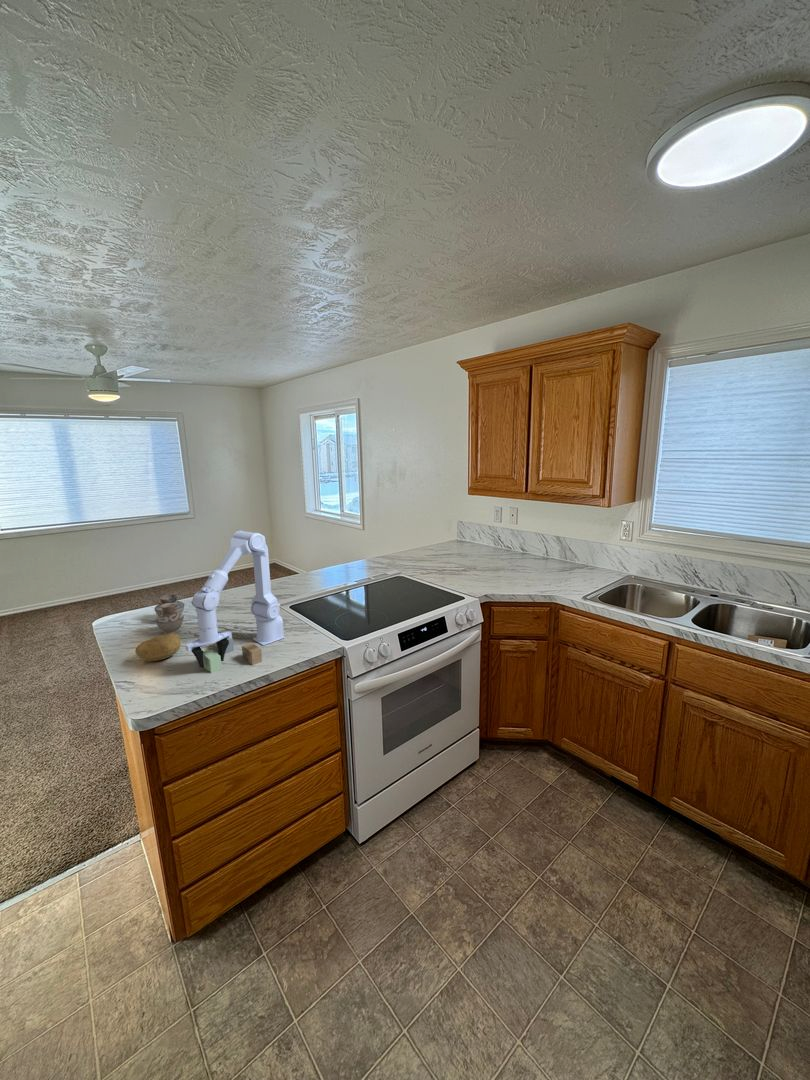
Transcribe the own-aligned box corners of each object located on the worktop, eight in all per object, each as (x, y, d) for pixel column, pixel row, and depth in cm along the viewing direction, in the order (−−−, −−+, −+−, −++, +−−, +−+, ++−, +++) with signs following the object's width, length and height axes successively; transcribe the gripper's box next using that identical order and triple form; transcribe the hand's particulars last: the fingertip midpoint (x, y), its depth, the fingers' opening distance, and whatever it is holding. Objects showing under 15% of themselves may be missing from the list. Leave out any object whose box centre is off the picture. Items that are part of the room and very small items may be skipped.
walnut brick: (242, 658, 154) (241, 645, 153) (252, 655, 156) (251, 642, 155) (252, 665, 149) (251, 652, 148) (262, 662, 152) (261, 648, 151)
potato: (134, 660, 152) (131, 638, 151) (178, 647, 161) (175, 627, 160) (140, 670, 145) (137, 648, 143) (185, 657, 154) (183, 636, 152)
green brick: (202, 666, 149) (201, 652, 148) (212, 662, 151) (211, 649, 150) (211, 673, 144) (209, 659, 143) (221, 669, 147) (220, 655, 146)
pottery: (155, 640, 167) (152, 611, 165) (156, 618, 189) (152, 591, 186) (188, 634, 173) (185, 606, 170) (185, 613, 194) (182, 587, 191)
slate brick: (216, 647, 162) (214, 635, 161) (225, 644, 164) (224, 632, 163) (224, 654, 157) (223, 641, 156) (233, 650, 160) (232, 638, 159)
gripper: (223, 616, 152) (227, 652, 155) (180, 629, 142) (184, 667, 145) (233, 622, 147) (236, 659, 150) (188, 635, 137) (193, 674, 140)
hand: (211, 663), depth 147 cm, fingers open, 6 cm apart
